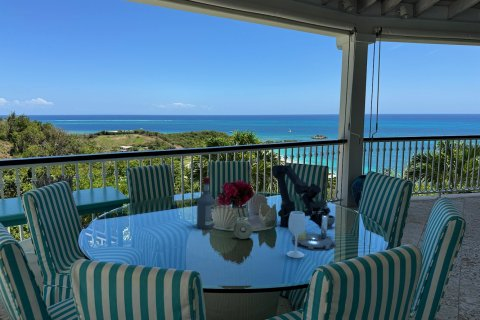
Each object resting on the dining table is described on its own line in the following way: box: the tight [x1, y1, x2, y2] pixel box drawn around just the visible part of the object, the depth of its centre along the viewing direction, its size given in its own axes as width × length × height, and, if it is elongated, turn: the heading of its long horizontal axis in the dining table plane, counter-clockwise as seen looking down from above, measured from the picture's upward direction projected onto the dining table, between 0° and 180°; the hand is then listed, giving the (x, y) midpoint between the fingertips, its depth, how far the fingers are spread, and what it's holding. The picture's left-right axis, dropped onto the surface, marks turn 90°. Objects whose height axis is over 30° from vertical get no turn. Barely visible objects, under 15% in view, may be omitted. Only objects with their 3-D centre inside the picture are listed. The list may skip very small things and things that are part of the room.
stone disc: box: [233, 219, 254, 240], centre depth 207 cm, size 10×4×10 cm, turn 86°
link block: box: [297, 230, 307, 240], centre depth 201 cm, size 5×4×4 cm
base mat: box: [291, 239, 336, 252], centre depth 203 cm, size 22×22×1 cm
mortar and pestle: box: [324, 206, 336, 230], centre depth 235 cm, size 11×9×12 cm
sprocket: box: [291, 215, 336, 250], centre depth 202 cm, size 23×23×14 cm
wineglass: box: [286, 210, 306, 259], centre depth 183 cm, size 9×9×21 cm
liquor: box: [196, 176, 216, 230], centre depth 225 cm, size 9×9×30 cm
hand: (322, 226), depth 207 cm, fingers closed, pressing on sprocket
